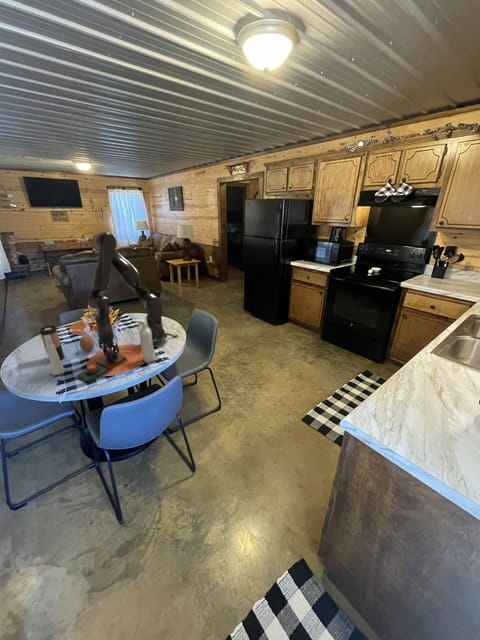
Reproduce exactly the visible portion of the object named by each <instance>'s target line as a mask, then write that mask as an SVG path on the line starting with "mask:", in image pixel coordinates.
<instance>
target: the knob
mask: <svg viewBox="0 0 480 640" xmlns="http://www.w3.org/2000/svg"><path fill="white" fill-rule="evenodd" d="M113 352H114V351H113ZM105 355H106V356H105V357H106V360H107V361H108V362H111V361H114V359H113V355H112V352H111V351H109V349H107V351H106V352H105Z"/></svg>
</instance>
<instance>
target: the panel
mask: <svg viewBox="0 0 480 640" xmlns="http://www.w3.org/2000/svg"><path fill="white" fill-rule="evenodd" d="M117 356H118V359H116V360H114V361H111V362H108V361H107V360H106V356H104V357H103V358H101V359H99V360H97V361H96V365H100V366H102V367H104V368H106V369H108V372H109V371H110V370H112V369H114V368H116V367H118V366H120V365H121V364H123V363H126V362H127V361H128V359H127V356H125V355H122V354H119V353H117Z"/></svg>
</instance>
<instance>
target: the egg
mask: <svg viewBox="0 0 480 640" xmlns="http://www.w3.org/2000/svg"><path fill="white" fill-rule="evenodd" d="M79 347H80V349H81V350H82V351H83V352H86V353H89V352H91V351H93V349H94V348H95V341H94V339H93V337H91V336H90V335H88V334H84V335H82V336H81V337H80V339H79Z"/></svg>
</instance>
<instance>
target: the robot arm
mask: <svg viewBox="0 0 480 640" xmlns="http://www.w3.org/2000/svg"><path fill="white" fill-rule="evenodd" d="M91 241H92V245H93V247H94V249H96V251H98V252H99V258H98V262H97V264H96V268H95V270H94V272H93V279H92V280H93V281H92V287H91V290H90V292H89V295H88V297H87V304H88V307H90V308H91V309H93V310H98V312H97V313H95V315H94V320H95V326H96V331H97V336H98V339H97V341H98V345H99V349H101V350H102V353H103V356H104V357H106V355H105V352H106V351H107V350H109V351H111V352H112V355H113V359H114V360H116V359H118V356H117V354H119V353H120V349H119V345H118V342H114V339H115V334H114V333H115V332H114V328H113V325H112V321H111V316H110V313H111V302H110V299H109V298H108V297H106V296H103V293H106V292H107V291H108V290H109V284H110V282H109V281H110V273H111V268H113V269H114V270H115V272H116V273H117V274H118V276H119V277H120V278H121V280H122V281H123V282H124V283H125V285H127V286H128V288H129V289H130V290H131V291H132V292H134V294H135V295H136V296H137V298H138V300H139V302H140V303H141V304H142V306H143V307H144V308H145V309H146V316H145V320H146V322H147V324H146V326H148V327H149V328H151V331H152V342H153V348H161V347H163V346H164V345H165V344H166V343H167V341H166V339H167V338H168V336H171V337H173V338H177V337H178V334H175V335H173V334H172V333H167V332H165V329H164V326H163V318H162V317H163V307H162V306H163V305H162V301H161V299H160V298H159V297H158V296H156V295H155V294H153V293H152V292H151V291H150V290H149V288H148V287H146V285H145V282H144V281H143V278H142V276H141V275H140V273H139V272H138V270H137V269H136V268H135V266H134V265H133V264H132V263H130V261H129V260H127V259H126V258H124V256H122V255H121V254H120V253H119V251H117V249H116V248H117V244H118V243H117V242H118V241H117V237H116V236H115V235H114V234H113V233H111V232H108V231H103V232H98V233H95V234H94V235H92V238H91ZM149 328H148V329H149ZM113 351H114V352H113Z"/></svg>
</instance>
